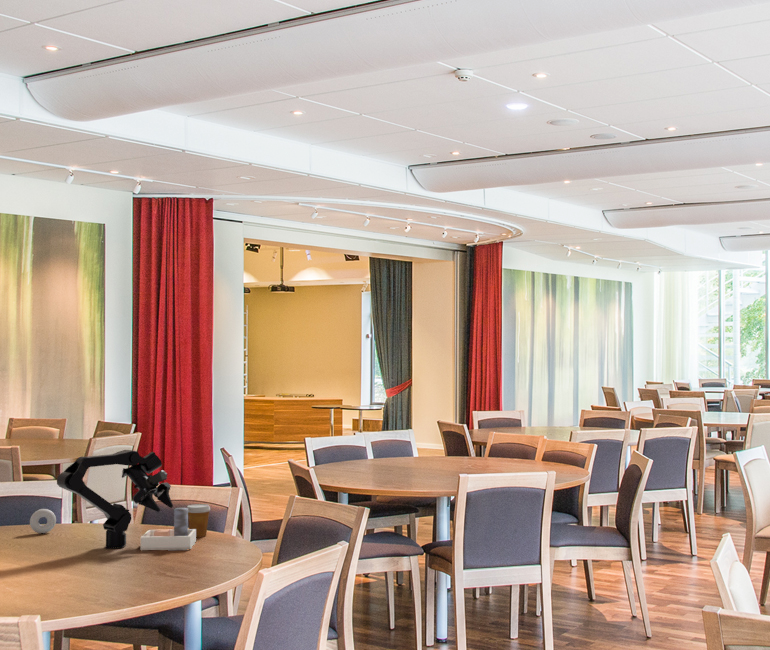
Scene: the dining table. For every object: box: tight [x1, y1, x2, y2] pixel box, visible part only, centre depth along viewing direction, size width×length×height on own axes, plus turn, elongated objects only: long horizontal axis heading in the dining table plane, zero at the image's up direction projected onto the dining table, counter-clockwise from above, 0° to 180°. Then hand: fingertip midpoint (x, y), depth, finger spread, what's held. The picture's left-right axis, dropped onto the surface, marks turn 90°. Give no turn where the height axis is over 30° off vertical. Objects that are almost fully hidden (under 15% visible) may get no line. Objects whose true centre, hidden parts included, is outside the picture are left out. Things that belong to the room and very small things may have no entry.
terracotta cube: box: [154, 528, 171, 536], centre depth 316 cm, size 5×5×5 cm
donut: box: [29, 508, 57, 534], centre depth 343 cm, size 10×4×10 cm, turn 113°
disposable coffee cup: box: [186, 503, 212, 538], centre depth 336 cm, size 10×10×12 cm
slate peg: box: [173, 507, 189, 536], centre depth 317 cm, size 5×5×13 cm
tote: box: [140, 528, 197, 551], centre depth 317 cm, size 18×14×5 cm
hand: (165, 509), depth 319 cm, fingers open, 9 cm apart
